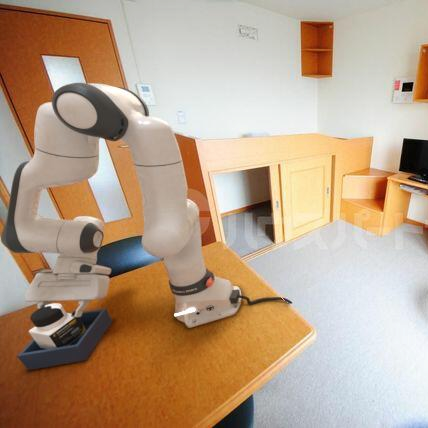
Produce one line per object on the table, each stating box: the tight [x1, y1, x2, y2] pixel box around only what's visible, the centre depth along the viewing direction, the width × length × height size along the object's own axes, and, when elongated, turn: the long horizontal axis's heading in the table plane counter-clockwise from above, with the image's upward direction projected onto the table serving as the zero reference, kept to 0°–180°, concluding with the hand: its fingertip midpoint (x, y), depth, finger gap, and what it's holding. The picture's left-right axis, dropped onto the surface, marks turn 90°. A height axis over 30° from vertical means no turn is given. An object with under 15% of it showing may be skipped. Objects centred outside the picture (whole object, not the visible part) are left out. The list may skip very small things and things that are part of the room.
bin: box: [16, 308, 113, 371], centre depth 71 cm, size 14×14×6 cm
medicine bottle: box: [28, 302, 86, 349], centre depth 68 cm, size 7×7×12 cm
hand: (59, 317), depth 68 cm, fingers closed on medicine bottle, 7 cm apart
